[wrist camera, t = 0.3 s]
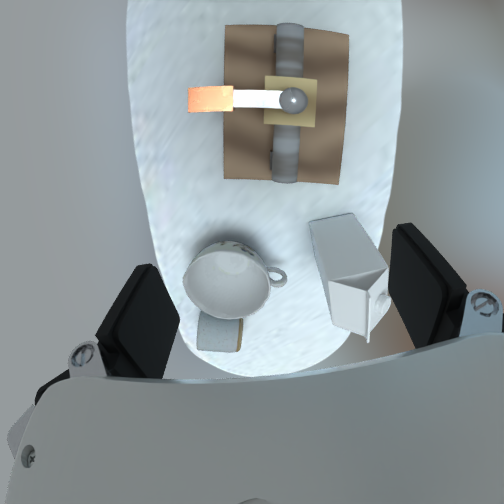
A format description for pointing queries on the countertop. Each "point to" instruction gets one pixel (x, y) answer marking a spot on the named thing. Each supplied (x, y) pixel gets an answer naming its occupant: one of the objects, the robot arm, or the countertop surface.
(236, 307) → the teacup
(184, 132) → the countertop surface
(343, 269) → the milk carton
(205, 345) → the ceramic mug
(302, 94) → the valve lever
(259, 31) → the stand
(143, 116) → the countertop surface
